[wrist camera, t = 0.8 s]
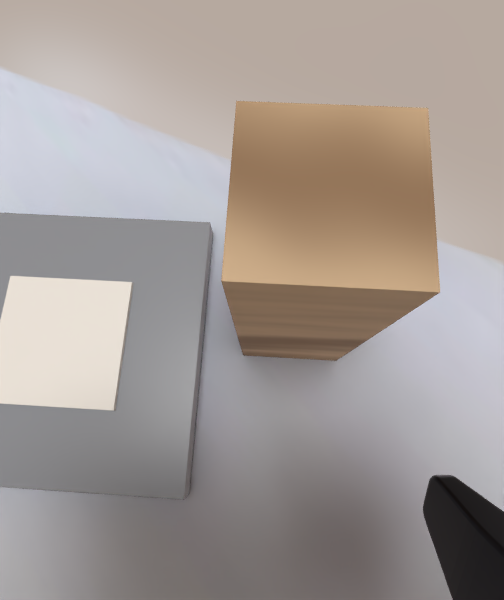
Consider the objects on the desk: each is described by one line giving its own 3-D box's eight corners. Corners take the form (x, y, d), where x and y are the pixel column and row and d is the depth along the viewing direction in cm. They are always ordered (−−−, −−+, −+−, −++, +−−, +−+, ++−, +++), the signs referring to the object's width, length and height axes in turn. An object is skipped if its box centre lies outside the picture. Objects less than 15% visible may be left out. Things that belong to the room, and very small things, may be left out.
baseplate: (189, 493, 20) (182, 501, 18) (-85, 474, 21) (-116, 480, 19) (213, 233, 24) (209, 220, 22) (-20, 222, 24) (-41, 208, 23)
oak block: (336, 360, 22) (440, 292, 9) (243, 355, 22) (221, 281, 9) (336, 272, 23) (427, 108, 11) (249, 268, 23) (236, 101, 11)
